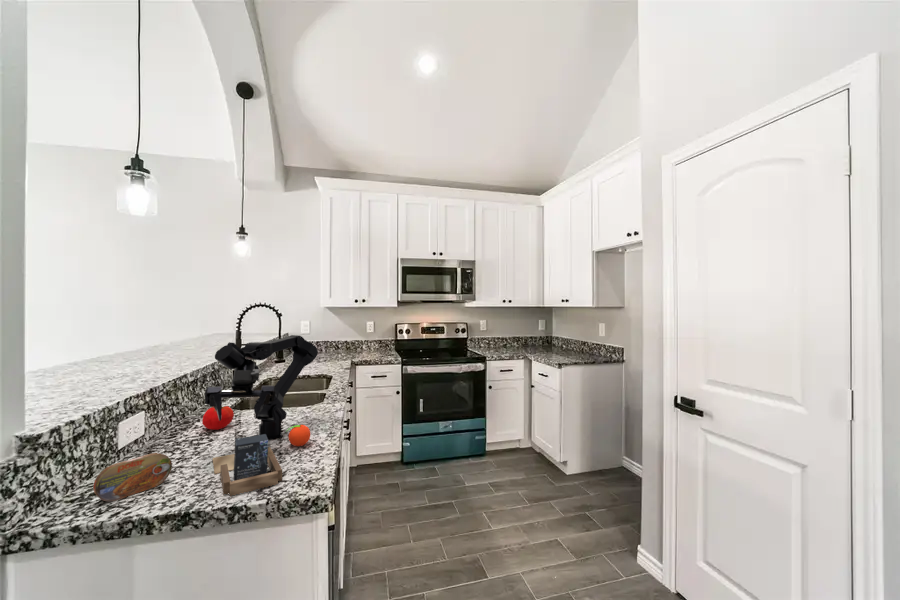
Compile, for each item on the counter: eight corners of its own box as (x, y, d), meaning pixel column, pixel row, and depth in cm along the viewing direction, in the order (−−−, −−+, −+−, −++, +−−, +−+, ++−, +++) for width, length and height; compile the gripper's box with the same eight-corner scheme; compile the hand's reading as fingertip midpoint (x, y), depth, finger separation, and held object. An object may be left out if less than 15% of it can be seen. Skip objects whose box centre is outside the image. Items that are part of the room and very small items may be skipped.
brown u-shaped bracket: (273, 464, 107) (274, 454, 107) (283, 483, 96) (283, 471, 97) (220, 476, 100) (220, 465, 100) (223, 497, 89) (224, 485, 89)
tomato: (197, 429, 135) (197, 407, 135) (225, 422, 144) (226, 401, 144) (209, 434, 130) (210, 411, 130) (238, 426, 139) (239, 405, 139)
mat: (270, 447, 120) (270, 447, 120) (277, 461, 110) (277, 460, 110) (212, 459, 110) (212, 458, 110) (214, 474, 100) (214, 473, 100)
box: (234, 485, 95) (235, 445, 95) (233, 476, 100) (234, 438, 100) (267, 477, 99) (268, 439, 99) (265, 469, 104) (266, 433, 104)
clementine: (284, 451, 117) (284, 429, 117) (285, 443, 124) (285, 422, 124) (310, 448, 120) (311, 426, 120) (310, 440, 126) (310, 420, 127)
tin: (95, 508, 83) (96, 471, 83) (90, 503, 85) (92, 467, 85) (172, 481, 96) (173, 450, 96) (167, 478, 98) (168, 447, 98)
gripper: (209, 359, 108) (199, 404, 97) (278, 360, 117) (276, 401, 106) (209, 382, 114) (200, 426, 104) (274, 381, 123) (272, 422, 112)
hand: (238, 418), depth 106 cm, fingers open, 9 cm apart
